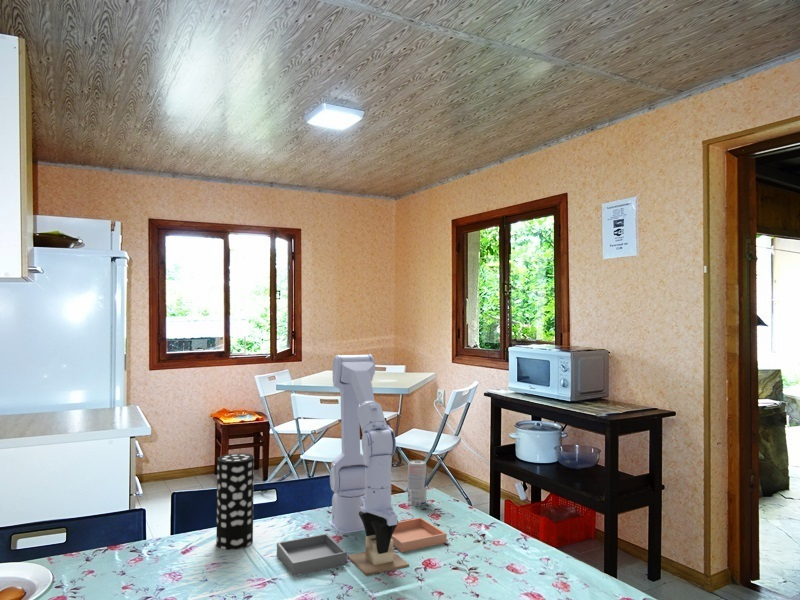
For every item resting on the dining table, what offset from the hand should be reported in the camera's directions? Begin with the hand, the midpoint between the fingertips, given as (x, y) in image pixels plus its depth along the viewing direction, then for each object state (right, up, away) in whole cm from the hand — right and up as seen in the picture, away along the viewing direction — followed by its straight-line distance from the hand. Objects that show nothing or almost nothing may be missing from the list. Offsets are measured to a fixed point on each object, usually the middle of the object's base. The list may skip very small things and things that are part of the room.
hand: (377, 548), depth 123 cm
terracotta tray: (+8, -4, +13) cm, 16 cm away
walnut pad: (0, -3, 0) cm, 3 cm away
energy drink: (+10, -5, +39) cm, 41 cm away
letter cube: (0, -2, 0) cm, 2 cm away
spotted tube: (-34, -4, +11) cm, 36 cm away
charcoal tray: (-15, -3, +2) cm, 15 cm away
